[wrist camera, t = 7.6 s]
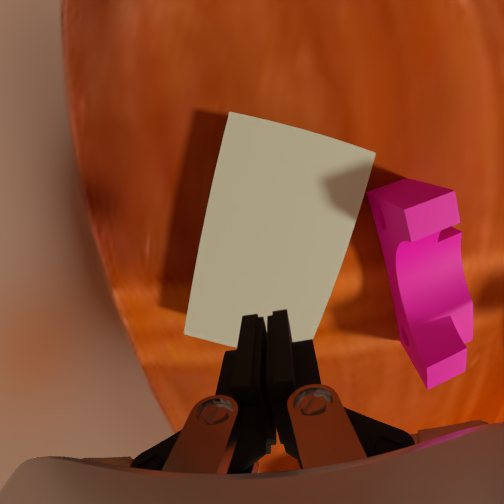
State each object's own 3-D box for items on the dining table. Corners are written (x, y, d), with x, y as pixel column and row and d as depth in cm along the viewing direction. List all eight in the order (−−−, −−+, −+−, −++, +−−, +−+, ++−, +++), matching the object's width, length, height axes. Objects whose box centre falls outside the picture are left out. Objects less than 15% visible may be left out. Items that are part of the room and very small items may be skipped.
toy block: (451, 316, 25) (488, 357, 18) (399, 339, 26) (427, 389, 19) (429, 169, 21) (482, 179, 14) (365, 191, 22) (403, 209, 15)
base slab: (235, 117, 21) (229, 111, 18) (360, 152, 22) (375, 152, 18) (193, 312, 27) (183, 333, 24) (300, 338, 27) (303, 361, 24)
